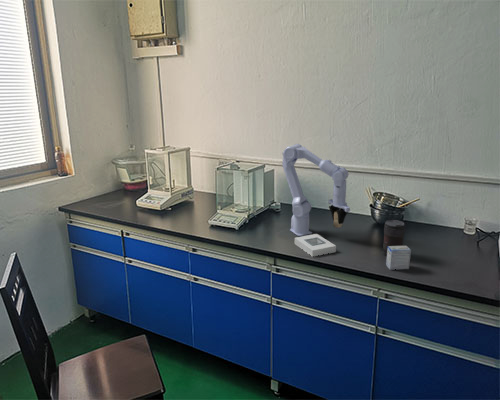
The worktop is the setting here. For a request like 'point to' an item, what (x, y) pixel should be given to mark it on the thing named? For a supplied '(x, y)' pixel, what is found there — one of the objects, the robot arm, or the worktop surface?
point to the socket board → (315, 245)
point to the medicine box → (398, 257)
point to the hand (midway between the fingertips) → (338, 222)
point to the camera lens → (393, 234)
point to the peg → (336, 220)
